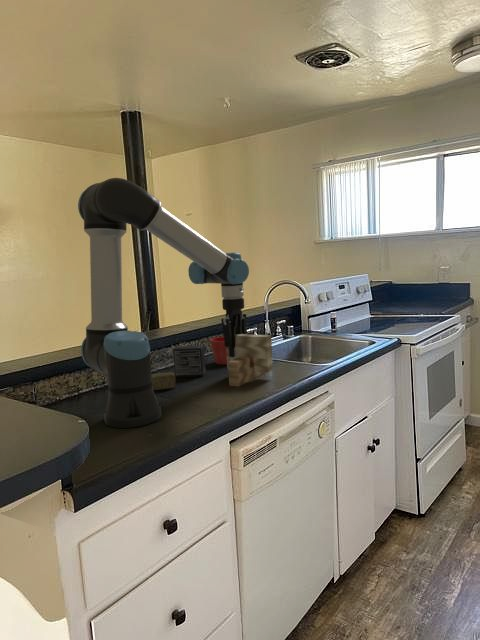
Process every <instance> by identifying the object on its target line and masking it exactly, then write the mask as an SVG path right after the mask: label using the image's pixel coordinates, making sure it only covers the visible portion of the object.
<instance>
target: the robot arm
mask: <svg viewBox="0 0 480 640" xmlns="http://www.w3.org/2000/svg"><path fill="white" fill-rule="evenodd" d="M77 210H78V213H79V216H80V217H81V219H82V220H83V231H84V232H85V233H86V234H87V236H88V237H89V252H90V253H89V254H90V255H89V256H90V258H89V259H90V263H89V264H90V265H89V266H90V267H89V268H90V309H91V310H90V311H91V315H90V316H91V319H90V320H91V321H90V323H89V324H88V325H87V326H86V327H85V337H84V339H83V341H82V342H81V346H80V354H81V357H82V359H83V360H82V361H83V362H84V363H85V364H86V366H88V367H89V368H90V369H92V370H93V371H94V372H96V373H100V374H103V375H106V377H107V388H108V396H107V400H106V407H105V411H104V413H103V417H104V418H103V419H104V423H105V425H106V426H108V427H111V428H117V429H129V428H137V427H142V426H146V425H149V424H152V423H155V422H157V421H158V420H159V419H161V417H162V408H161V405H160V404H159V401H158V399H157V397H156V393H155V390H153V386H152V374H153V373H152V362H151V345H150V341H149V337H148V336H147V335H146V334H145V333H143V332H141V331H138V330H137V331H136V330H129V328H128V325H127V324H126V323H125V322H124V321H123V291H122V290H123V285H122V284H123V283H122V281H123V280H122V277H123V276H122V275H123V274H122V237H123V236H124V235H125V234H126V233H127V225H129V226H130V225H131V226H133V227H135V228H136V229H137V230H138V231H147V232H149V233H150V234H152V235H153V236H155V237H156V238H158V239H159V240H161V241H162V242H163V243H165V244H167V245H168V246H170V247H171V248H173V249H174V250H175V251H177V252H179V253H180V254H181V255H183V256H184V257H186V258H188V259H189V260H190V261H192V262H191V263H190V264H189V266H188V270H187V271H188V277H189V280H190V281H191V283H192V284H194V285H204V284H205V285H206V284H220V288H221V289H220V290H221V298H223V299H222V300H221V302H222V303H221V304H222V309H223V310H224V311H225V318H221V319H220V321H221V325H222V331H223V337H224V344H225V347H228V348H229V356H230V361H231V360H233V359H236V358H237V347H235V338H236V334H247V323H246V322H247V314H246V313H243V312H242V310H243V309H245V298H244V290H245V289H244V283H245V282H246V281H247V279H248V277H249V274H250V268H249V266H248V264H247V261H245V260H244V259H242V255H241V253H240V252H225V251H223V250H221V249H220V248H219V247H217V246H216V245H215V244H214V243H213V242H211V241H210V240H208V239H207V238H205V236H203V235H201V234H200V233H198V232H197V231H196V230H195V229H193V228H191V226H189V225H187V224H186V223H185V222H184V221H182V220H181V219H179V218H178V217H176V216H175V215H173V214H172V213H171V212H169V211H168V210H167V209H165V207H163V206H162V203H161V201H160V200H159V199H158V198H157V197H156V196H154V195H153V194H151V193H150V192H149V191H147V190H146V189H144V188H143V187H141V186H140V185H138V184H136V183H135V182H132V181H130V180H129V179H125V178H121V177H111V178H108V179H105V180H103V181H101V182H97V183H94V184H91V185H90V186H88V187H87V188H86V189H85V190H84V191H82V193H81V194H80V196H79V198H78V204H77Z"/></svg>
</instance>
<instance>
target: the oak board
mask: <svg viewBox="0 0 480 640" xmlns="http://www.w3.org/2000/svg"><path fill="white" fill-rule="evenodd" d="M227 371H228V372H227V373H228V381H229V382H228V384H229V385H228V386H230V387H240V386H242V385H244V384H246V383H247V382H248V383H249V381H252V380H254V379H256V378H257V377H259V376H261V375H263V374H265V373H266V372H257V371H254V358H249V357H238V358H236V359H233V360H231V361H229V362H228V368H227Z"/></svg>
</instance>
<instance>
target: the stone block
mask: <svg viewBox="0 0 480 640" xmlns="http://www.w3.org/2000/svg"><path fill="white" fill-rule="evenodd" d="M152 386H153V390H154V391H161V390H162V391H163V390H169V389H175V387H176V377H175V372H170V371H169V372H157V373H152Z"/></svg>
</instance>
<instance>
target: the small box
mask: <svg viewBox="0 0 480 640" xmlns="http://www.w3.org/2000/svg"><path fill="white" fill-rule="evenodd" d="M172 354H173V365H174V366H173V367H174V374H175V378H191V377H204V375H205V374H206V373H207V371H206V368H207V367H206V355H205V345H204V344H203V345H199V344H198V345H183V346H182V345H180V346H178V345H176V346H175V347H174V348H172Z"/></svg>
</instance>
